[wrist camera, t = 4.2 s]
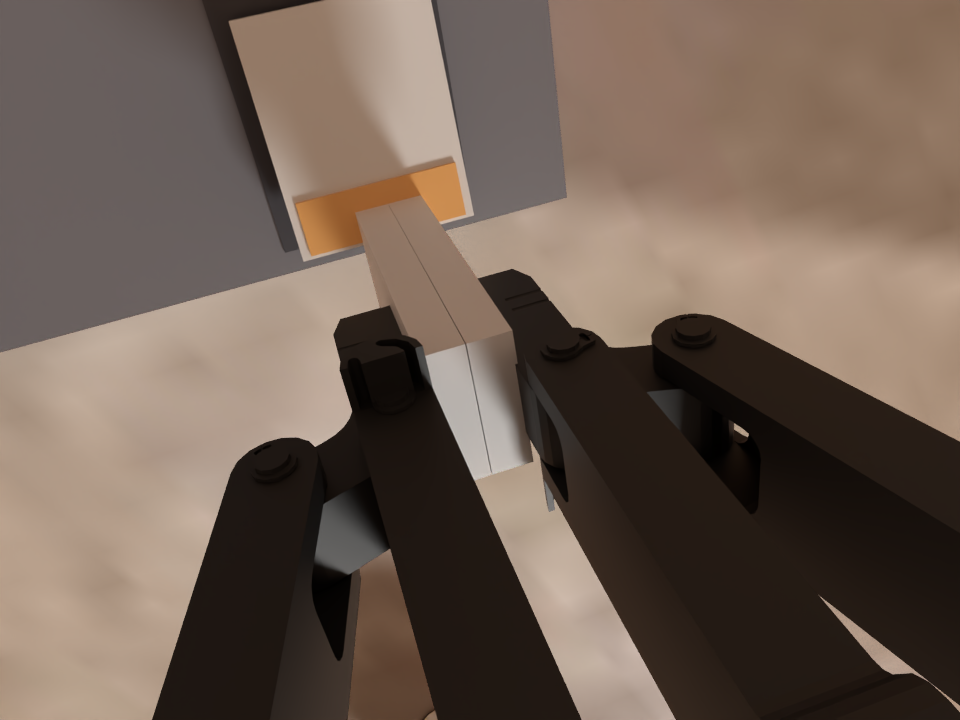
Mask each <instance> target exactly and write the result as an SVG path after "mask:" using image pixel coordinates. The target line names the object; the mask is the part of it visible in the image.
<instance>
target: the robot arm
mask: <svg viewBox="0 0 960 720" xmlns="http://www.w3.org/2000/svg"><path fill="white" fill-rule="evenodd" d="M355 214H356V218H357V222H358V225H359V229H360V233H361V236H362V240H363V245H364V249H365V253H366V256H367V260H368V264H369V268H370V272H371V275H372V279H373V283H374V287H375V290H376V294H377V298H378V302H379V306H380V308H379V309H375V310H371V311H368V312H364V313H361V314H357V315H354V316H350V317H347V318H343V319H340V321H339V323H338V326H337V328H336V330H335V332H334V334H333V335H334V339H335V343H336V346H337V350H338V354H339V358H340V361H341V362H340V373H341V376H342V379H343V383H344V386H345V389H346V392H347V395H348V399H349V402H350V405H351V408H352V413H351V416H350V419H349V421H348V422H347V423H346V425H345V426H344V428H342V429H341V430H340V431H339V432H338V433H337V434H336V435H335V436H333V437H332V438H330V439H328V440H327V441H325V442H324V443H322V444H320V445H318V446H316V447H314V446H313V445H312V444H311V443H310V442H309V441H306V440H303V439H300V438H280V439H276V440H273V441H269V442H266V443H263V444H262V445H260V446H258V447H256V448H254V449H252V450H250V451H249V452H248V453H247V454H245V455H244V456H243V457H242V458H241V459H240V460H239V461H238V462H237V463H236V465H235V467H234V469H233V470H232V472H231V474H230V477H229V480H228V484H227V487H226V490H225V493H224V496H223V499H222V502H221V506H220V509H219V512H218V515H217V518H216V521H215V524H214V527H213V531H212V534H211V537H210V540H209V543H208V546H207V549H206V553H205V556H204V559H203V562H202V565H201V568H200V571H199V574H198V578H197V581H196V584H195V587H194V590H193V593H192V596H191V600H190V603H189V606H188V609H187V612H186V615H185V618H184V621H183V625H182V628H181V631H180V634H179V637H178V640H177V643H176V647H175V650H174V653H173V656H172V659H171V662H170V665H169V668H168V672H167V675H166V678H165V681H164V684H163V687H162V690H161V694H160V697H159V700H158V703H157V706H156V709H155V712H154V715H153V719H152V720H347V719H348V709H349V698H350V688H351V677H352V667H353V657H354V646H355V636H356V625H357V615H358V605H359V594H360V584H361V576H360V570H359V568H360V567H362V566H363V565H365V564H366V563H368V562H370V561H371V560H373V559H374V558H376V557H377V556H379V555H381V554H382V553H384V552H385V551H387V550H388V549H391V552H392V556H393V560H394V563H395V567H396V571H397V574H398V578H399V582H400V585H401V589H402V592H403V596H404V600H405V603H406V607H407V611H408V614H409V618H410V621H411V625H412V629H413V632H414V636H415V640H416V643H417V647H418V650H419V654H420V658H421V661H422V665H423V669H424V672H425V676H426V679H427V683H428V687H429V690H430V694H431V698H432V701H433V705H434V708H435V712H436V716H437V719H438V720H581V717H580V715H579V713H578V711H577V709H576V706H575V704H574V702H573V700H572V697H571V695H570V693H569V691H568V688H567V686H566V684H565V682H564V680H563V677H562V675H561V673H560V671H559V668H558V666H557V664H556V662H555V659H554V657H553V655H552V653H551V651H550V648H549V646H548V644H547V642H546V639H545V637H544V635H543V633H542V630H541V628H540V626H539V624H538V622H537V619H536V617H535V615H534V613H533V610H532V608H531V606H530V604H529V602H528V599H527V597H526V595H525V593H524V590H523V588H522V586H521V584H520V581H519V579H518V577H517V575H516V573H515V570H514V568H513V566H512V564H511V561H510V559H509V557H508V555H507V552H506V550H505V548H504V546H503V544H502V541H501V539H500V537H499V535H498V532H497V530H496V528H495V526H494V523H493V521H492V519H491V517H490V515H489V512H488V510H487V508H486V506H485V503H484V501H483V499H482V497H481V494H480V492H479V490H478V488H477V486H476V483H475V481H474V480H477V479H480V478H483V477H486V476H489V475H491V473H492V475H493V474H496V473H499V472H502V471H505V470H508V469H512V468H515V467H518V466H521V465H524V464H527V463H530V462H533V456H532V450H531V444H530V440H531V442H532V443H533V445H534V447H535V449H536V450H537V452H538V454H539V455H540V461H541V468H542V474H543V481H544V487H545V494H546V500H547V506H548V510H549V512H550V511H553V510H555V507H554V499H555V500H556V502H557V504H558V506H559V508H560V509H561V511H562V513H563V515H564V517H565V519H566V520H567V522H568V524H569V526H570V528H571V529H572V531H573V533H574V535H575V537H576V539H577V540H578V542H579V544H580V546H581V548H582V550H583V551H584V553H585V555H586V557H587V559H588V560H589V562H590V564H591V566H592V568H593V570H594V571H595V573H596V575H597V577H598V579H599V580H600V582H601V584H602V586H603V588H604V590H605V591H606V593H607V595H608V597H609V599H610V601H611V602H612V604H613V606H614V608H615V610H616V611H617V613H618V615H619V617H620V619H621V621H622V622H623V624H624V626H625V628H626V630H627V631H628V633H629V635H630V637H631V639H632V641H633V642H634V644H635V646H636V648H637V650H638V652H639V653H640V655H641V657H642V659H643V661H644V662H645V664H646V666H647V668H648V670H649V672H650V673H651V675H652V677H653V679H654V681H655V682H656V684H657V686H658V688H659V690H660V692H661V693H662V695H663V697H664V699H665V701H666V703H667V704H668V706H669V708H670V710H671V712H672V713H673V715H674V717H675V719H676V720H960V712H959V711H958V710H957V709H956V708H955V707H954V705H953V704H952V703H951V702H950V701H949V700H948V699H947V698H946V697H945V696H944V695H943V694H942V693H941V692H939V691H938V690H937V689H936V688H935V687H934V686H936V687H937V688H938V689H939V690H941V691H942V692H943V693H944V694H946V695H947V696H948V697H950V698H951V699H952V700H953V701H955V702H956V703H957V704H959V705H960V442H959V441H957V440H955V439H954V438H952V437H950V436H948V435H946V434H944V433H942V432H940V431H938V430H936V429H934V428H932V427H930V426H928V425H926V424H924V423H923V422H921V421H919V420H917V419H915V418H913V417H911V416H909V415H907V414H905V413H903V412H901V411H899V410H897V409H895V408H894V407H892V406H890V405H888V404H886V403H884V402H882V401H880V400H878V399H876V398H874V397H872V396H870V395H868V394H866V393H864V392H863V391H861V390H859V389H857V388H855V387H853V386H851V385H849V384H847V383H845V382H843V381H841V380H839V379H837V378H835V377H834V376H832V375H830V374H828V373H826V372H824V371H822V370H820V369H818V368H816V367H814V366H812V365H810V364H808V363H806V362H804V361H803V360H801V359H799V358H797V357H795V356H793V355H791V354H789V353H787V352H785V351H783V350H781V349H779V348H777V347H775V346H774V345H772V344H770V343H768V342H766V341H764V340H762V339H760V338H758V337H756V336H754V335H752V334H750V333H748V332H746V331H744V330H743V329H741V328H739V327H737V326H735V325H733V324H731V323H729V322H727V321H725V320H723V319H720V318H717V317H714V316H711V315H702V314H688V315H686V314H685V315H679V316H676V317H673V318H670V319H667V320H665V321H663V322H662V323H660V324H659V325H658V326H656V327H655V329H654V331H653V333H652V335H651V336H652V345H647V346H637V347H625V348H612V347H608V346H607V345H606V343H605V342H604V341H603V340H602V339H601V338H600V337H599V336H598V335H596V334H595V333H593V332H592V331H589V330H585V329H581V328H572V327H571V325H570V324H569V323H568V322H567V320H566V319H565V318H564V317H563V316H562V314H561V313H560V312H559V311H558V309H557V308H556V307H555V306H554V305H553V303H552V302H551V301H549V299H548V297H547V296H546V295H545V294H544V292H543V291H541V289H540V287H539V286H538V285H537V284H536V283H535V281H534V280H533V279H532V278H531V277H530V276H528V275H526V274H523V273H521V272H519V271H516V270H514V269H510V270H507V271H503V272H500V273H496V274H493V275H489V276H485V277H482V278H478V279H477V277H476V276H475V274H474V273H473V271H472V270H471V268H470V267H469V266H468V264H467V263H466V261H465V260H464V258H463V257H462V255H461V254H460V252H459V251H458V249H457V248H456V246H455V245H454V243H453V242H452V240H451V239H450V237H449V236H448V235H447V233H446V232H445V230H444V229H443V227H442V226H441V224H440V223H439V221H438V220H437V218H436V217H435V215H434V214H433V212H432V211H431V209H430V208H429V207H428V205H427V204H426V202H425V201H424V199H423V198H422V196H421V195H419V196H416V197H412V198H408V199H404V200H401V201H397V202H393V203H389V204H385V205H382V206H378V207H374V208H370V209H367V210H363V211H359V212H355ZM734 423H735V424H737V425H738V426H740V427H741V428H743V429H744V430H745V431H746V432H747V433H749V436H748V437H746V436H743V435H742V434H740V433H739V432H737V431H735V430H734ZM820 596H821V597H822V598H823V599H825V600H826V601H827V602H828V603H830V604H831V605H832V606H834V607H835V608H836V609H837V610H839V611H840V612H841V613H842V614H844V615H845V616H846V617H848V618H849V619H850V620H851V621H853V622H854V623H855V624H856V625H858V626H859V627H860V628H862V629H863V630H864V631H865V632H867V633H868V634H869V635H871V636H872V637H873V638H874V639H876V640H877V641H878V642H879V643H881V644H882V645H883V646H885V647H886V648H887V649H888V650H890V651H891V652H892V653H893V654H895V655H896V656H897V657H899V658H900V659H901V660H902V661H904V662H905V663H906V664H908V665H909V666H910V667H911V668H913V669H914V670H915V671H916V672H918V673H919V674H920V675H922V676H923V677H924V678H925V679H927V680H928V681H929V682H928V681H926V680H924V679H922V678H920V677H919V676H917V675H915V674H913V673H909V674H894V675H892V674H891V673H889V672H887V671H885V670H883V669H882V668H881V667H880V666H879V665H878V664H877V663H876V662H875V661H874V660H873V659H872V658H871V657H870V655H869V654H868V653H867V652H866V651H865V650H864V648H863V647H862V646H861V645H860V644H859V642H858V641H857V640H856V639H855V638H854V637H853V635H852V634H851V633H850V632H849V631H848V629H847V628H846V627H845V626H844V625H843V624H842V622H841V621H840V620H839V619H838V618H837V616H836V615H835V614H834V613H833V612H832V611H831V609H830V608H829V607H828V606H827V605H826V603H825V602H824V601H823V600H822V599H821V598H820ZM931 683H932V684H933V685H934V686H933V685H932V684H931Z"/></svg>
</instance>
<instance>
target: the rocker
mask: <svg viewBox="0 0 960 720" xmlns="http://www.w3.org/2000/svg"><path fill="white" fill-rule="evenodd" d="M228 22H229V25H230V28H231V31H232V34H233V38H234V41H235V44H236V47H237V50H238V54H239V57H240V60H241V63H242V66H243V70H244V73H245V76H246V79H247V82H248V86H249V89H250V92H251V95H252V98H253V102H254V105H255V108H256V111H257V114H258V118H259V121H260V124H261V127H262V130H263V134H264V137H265V140H266V143H267V146H268V150H269V153H270V156H271V159H272V162H273V165H274V169H275V172H276V175H277V178H278V181H279V185H280V188H281V191H282V194H283V197H284V201H285V204H286V207H287V210H288V213H289V217H290V220H291V223H292V226H293V229H294V233H295V236H296V239H297V242H298V245H299V249H300V252H301V255H302V258H303V261H304V262H305V261H308V260H312V259H316V258H319V257H323V256H327V255H330V254H334V253H338V252H341V251H345V250H349V249H352V248H356V247H360V246H363V240H362V236H361V233H360V229H359V225H358V222H357V218H356V214H355V212H359V211H363V210H367V209H370V208H374V207H378V206H382V205H385V204H389V203H393V202H397V201H401V200H404V199H408V198H412V197H416V196H419V195H421V196H422V198H423V199H424V201H425V202H426V204H427V205H428V207H429V208H430V209H431V211H432V212H433V214H434V215H435V217H436V218H437V220H438V221H439V223H440V224H444V223H448V222H452V221H455V220H459V219H463V218H466V217H470V216H474V212H473V207H472V202H471V197H470V192H469V187H468V182H467V177H466V172H465V167H464V162H463V157H462V152H461V148H460V143H459V138H458V133H457V128H456V123H455V118H454V113H453V108H452V103H451V98H450V93H449V88H448V83H447V78H446V73H445V68H444V63H443V58H442V53H441V48H440V43H439V38H438V33H437V28H436V23H435V18H434V13H433V8H432V3H431V0H321V1H316V2H311V3H307V4H302V5H298V6H293V7H289V8H284V9H280V10H275V11H270V12H266V13H261V14H257V15H252V16H248V17H243V18H238V19H234V20H229V21H228Z"/></svg>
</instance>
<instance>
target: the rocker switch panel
mask: <svg viewBox="0 0 960 720" xmlns="http://www.w3.org/2000/svg"><path fill="white" fill-rule="evenodd" d="M316 1H321V0H0V352H4V351H7V350H11V349H15V348H18V347H22V346H26V345H29V344H33V343H37V342H40V341H44V340H48V339H51V338H55V337H58V336H62V335H66V334H69V333H73V332H77V331H80V330H84V329H88V328H91V327H95V326H99V325H102V324H106V323H110V322H113V321H117V320H121V319H124V318H128V317H132V316H135V315H139V314H143V313H146V312H150V311H154V310H157V309H161V308H164V307H168V306H172V305H175V304H179V303H183V302H186V301H190V300H194V299H197V298H201V297H205V296H208V295H212V294H216V293H219V292H223V291H227V290H230V289H234V288H238V287H241V286H245V285H249V284H252V283H256V282H260V281H263V280H267V279H270V278H274V277H278V276H281V275H285V274H289V273H292V272H296V271H300V270H303V269H307V268H311V267H314V266H318V265H322V264H325V263H329V262H333V261H336V260H340V259H344V258H347V257H351V256H355V255H358V254H362V253H365V249H364V245H363V246H360V247H356V248H352V249H349V250H345V251H341V252H338V253H334V254H330V255H327V256H323V257H319V258H316V259H312V260H308V261H305V262H304V261H303V258H302V255H301V252H300V249H299V245H298V242H297V239H296V236H295V233H294V229H293V226H292V223H291V220H290V217H289V213H288V210H287V207H286V204H285V201H284V197H283V194H282V191H281V188H280V185H279V181H278V178H277V175H276V172H275V169H274V165H273V162H272V159H271V156H270V153H269V150H268V146H267V143H266V140H265V137H264V134H263V130H262V127H261V124H260V121H259V118H258V114H257V111H256V108H255V105H254V102H253V98H252V95H251V92H250V89H249V86H248V82H247V79H246V76H245V73H244V70H243V66H242V63H241V60H240V57H239V54H238V50H237V47H236V44H235V41H234V38H233V34H232V31H231V28H230V25H229V22H228V21H229V20H234V19H238V18H243V17H248V16H252V15H257V14H261V13H266V12H270V11H275V10H280V9H284V8H289V7H293V6H298V5H302V4H307V3H311V2H316ZM431 3H432V8H433V13H434V18H435V23H436V28H437V33H438V38H439V43H440V48H441V53H442V58H443V63H444V68H445V73H446V78H447V83H448V88H449V93H450V98H451V103H452V108H453V113H454V118H455V123H456V128H457V133H458V138H459V143H460V148H461V152H462V157H463V162H464V167H465V172H466V177H467V182H468V187H469V192H470V197H471V202H472V207H473V212H474V216H470V217H466V218H463V219H459V220H455V221H452V222H448V223H444V224H441V226H442V227H443V229H444V230H445V231H446V230H450V229H453V228H457V227H461V226H464V225H468V224H472V223H475V222H479V221H483V220H486V219H490V218H493V217H497V216H501V215H504V214H508V213H512V212H515V211H519V210H523V209H526V208H530V207H534V206H537V205H541V204H545V203H548V202H552V201H556V200H559V199H563V198H567V194H566V184H565V174H564V163H563V153H562V142H561V132H560V121H559V111H558V100H557V90H556V79H555V69H554V58H553V48H552V37H551V27H550V16H549V6H548V0H431Z"/></svg>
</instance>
